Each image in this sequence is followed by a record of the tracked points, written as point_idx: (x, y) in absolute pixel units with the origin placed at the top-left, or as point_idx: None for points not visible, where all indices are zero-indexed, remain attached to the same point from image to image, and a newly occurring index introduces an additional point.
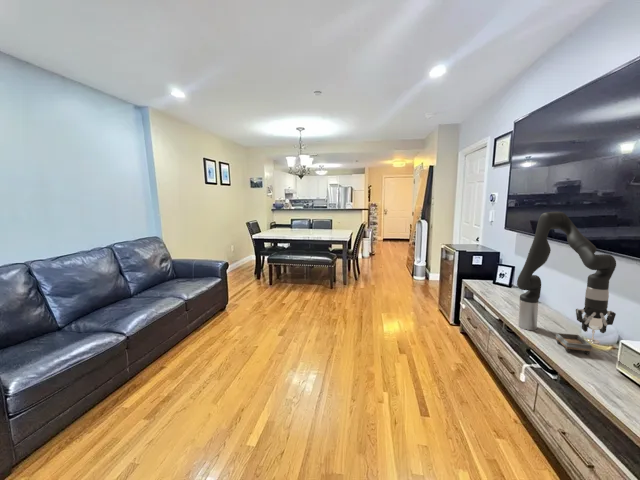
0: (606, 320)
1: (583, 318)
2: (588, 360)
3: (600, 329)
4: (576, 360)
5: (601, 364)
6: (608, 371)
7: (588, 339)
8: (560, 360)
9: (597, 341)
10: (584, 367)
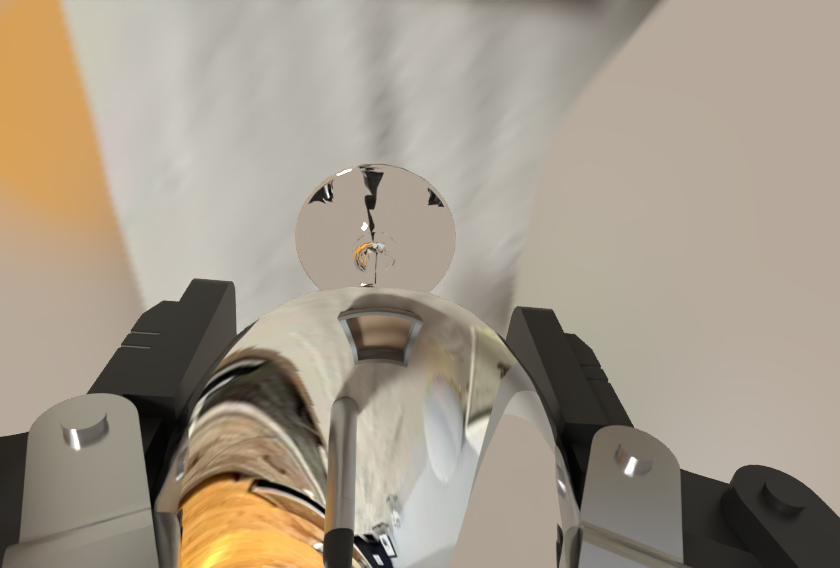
0: (764, 547)
1: (26, 536)
2: (422, 34)
3: (524, 348)
4: (295, 51)
5: (494, 106)
6: (461, 224)
7: (325, 231)
8: (127, 75)
9: (424, 274)
10: (298, 186)
